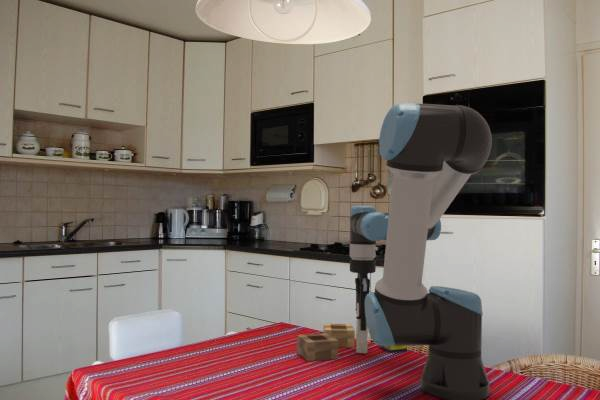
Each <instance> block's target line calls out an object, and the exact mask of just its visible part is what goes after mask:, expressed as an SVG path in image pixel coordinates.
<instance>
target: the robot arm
mask: <svg viewBox="0 0 600 400" xmlns="http://www.w3.org/2000/svg"><path fill="white" fill-rule="evenodd" d="M379 133H380V134H379V138H378V145H379V147H378V150H379V155H380V157H381V158H382V159H384V160H386V168H387V169H388V171H390V173H391V174H392V181H391V188H390V189H391V190H390V200H389V208H388V209H389V210H388V212H380V211H377V209H376V206H373V205H353V206H352V207H351V208H350V216H349V222H350V225H349V229H350V231H349V236H350V237H349V241H350V243H349V257H350V258H351V259H350V260H349V272H350V273H354V274H356V275H357V276H356V277H355V278H354V282H355V283H354V284H355V313H356V315H357V303H359V316H358V317H357V316H355V317H356V318H355V319H356V320H355V321H356V322H355V323H356V325H355V327H356V329H357V319H358V342H367V343H368V337H367V335H368V334H369V336H370V338H371V340H372V341H373V342H374V344H376V345H378V346H380V345H381V346H392V347H395V346H407V347H408V346H428V356H427V358H426V361H425V364H424V367H423V371H422V372H421V375H420V376H421V377H420V388H421V389H422V391H424V392H425V393H427V394H429V395H430V396H434V397H436V398H440V399H444V400H484V399H487V398H488V397H489V396H490V381H489V379H488V375H487V372H486V369H485V366H484V362H483V360H482V359H483V358H482V346H483V345H482V343H483V342H482V341H483V340H482V338H483V337H482V335H483V334H482V333H483V332H482V331H483V325H482V323H483V315H484V314H483V306H482V298H481V297H480V295H478V294H477V293H474V292H472V291H468V290H463V289H459V288H453V287H448V286H447V287H446V286H442V285H441V286H439V285H432V286H430V287H429V289H427V287H426V286H425V285H424V284H423V283H422V282H423V275H424V266H425V259H426V257H425V255H426V250H427V249H426V248H427V241H436V240H437V239H438V238H439V237H440V236H441V235H440V234H441V231H442V222H441V218H442V217H443V215H444V214H445V212H446V211H447V209H448V208H449V207H450V205H451V203H453V201H454V200H455V198H456V196H458V194H459V193H460V191H461V190H462V188H463V187H464V185H465V184H466V182H467V181H468V180H469V178H470V177H471V175H474V174H477V173H479V171H481V170H482V168H483V167H484V165H485V164H486V163H487V160H488V159H489V156H490V154H491V152H492V151H491V150H492V144H493V138H492V136H493V135H492V132H491V128H490V126H489V124H488V121H486V119H485V118H484V117H483V116H482V114H480V112H478V111H477V110H475V109H474V108H471V107H468V106H467V105H466V106H465V105H459V104H457V105H455V104H454V105H451V104H450V105H449V104H448V105H447V104H435V103H434V104H432V103H417V102H408V103H405V102H404V103H396V104H395V105H393V106H391V107H390V109H389V110H388V112H387V113H386V115H385V117H384V119H383V122H382V125H381V128H380V132H379ZM380 241H385V242H386V243H385V251H384V252H385V253H384V261H383V262H384V263H383V272H382V278H381V279H379V280H377V281H376V282H375V285H374V292H370V287H371V279H370V278H369V277H368V275H369V274H374V273H375V272H376V269H377V267H376V264H377V262H376V260H375V258H376V253H377V252H376V251H378V250H379V248H378V247H376V243H377V242H380ZM356 329H355V330H356Z"/></svg>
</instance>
